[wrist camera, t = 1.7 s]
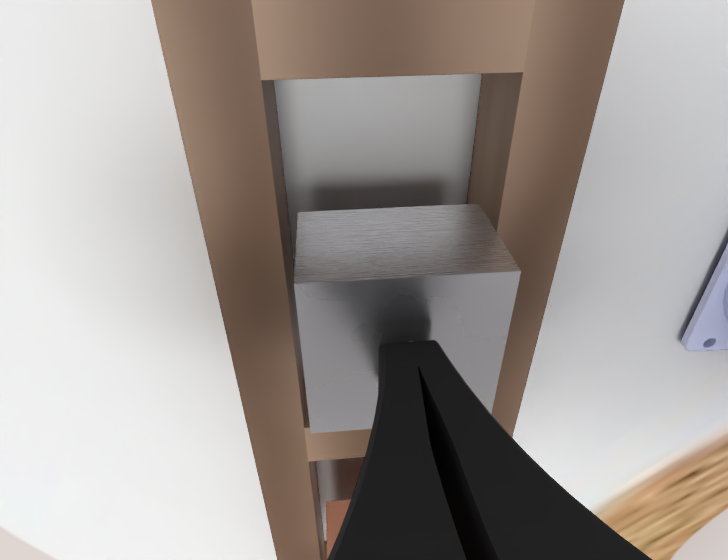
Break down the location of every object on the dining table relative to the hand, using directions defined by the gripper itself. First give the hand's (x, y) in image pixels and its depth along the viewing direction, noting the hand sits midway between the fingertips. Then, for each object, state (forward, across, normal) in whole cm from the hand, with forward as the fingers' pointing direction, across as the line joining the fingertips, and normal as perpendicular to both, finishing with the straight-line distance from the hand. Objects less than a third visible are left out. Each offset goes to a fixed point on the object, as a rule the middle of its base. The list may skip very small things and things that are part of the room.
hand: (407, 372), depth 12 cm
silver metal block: (+4, 0, 0) cm, 4 cm away
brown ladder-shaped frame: (+6, 0, +7) cm, 9 cm away
